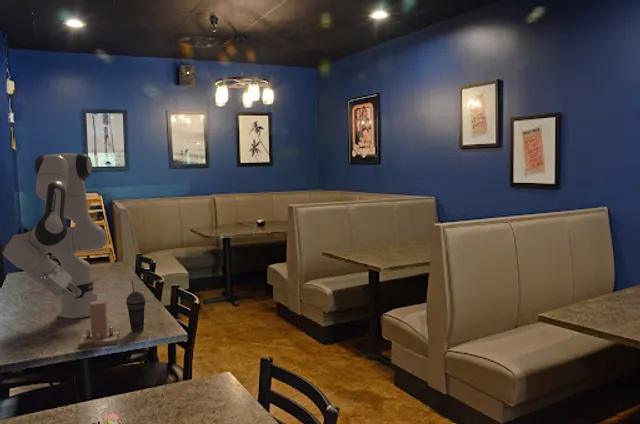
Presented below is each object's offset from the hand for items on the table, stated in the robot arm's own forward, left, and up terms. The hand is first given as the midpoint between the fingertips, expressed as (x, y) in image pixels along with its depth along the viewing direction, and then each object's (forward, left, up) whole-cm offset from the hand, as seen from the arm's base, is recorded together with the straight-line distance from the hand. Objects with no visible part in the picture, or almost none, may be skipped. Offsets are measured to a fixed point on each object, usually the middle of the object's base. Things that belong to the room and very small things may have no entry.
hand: (76, 294), depth 192 cm
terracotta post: (0, +7, -17) cm, 18 cm away
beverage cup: (-7, +20, -18) cm, 28 cm away
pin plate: (0, +7, -18) cm, 19 cm away
